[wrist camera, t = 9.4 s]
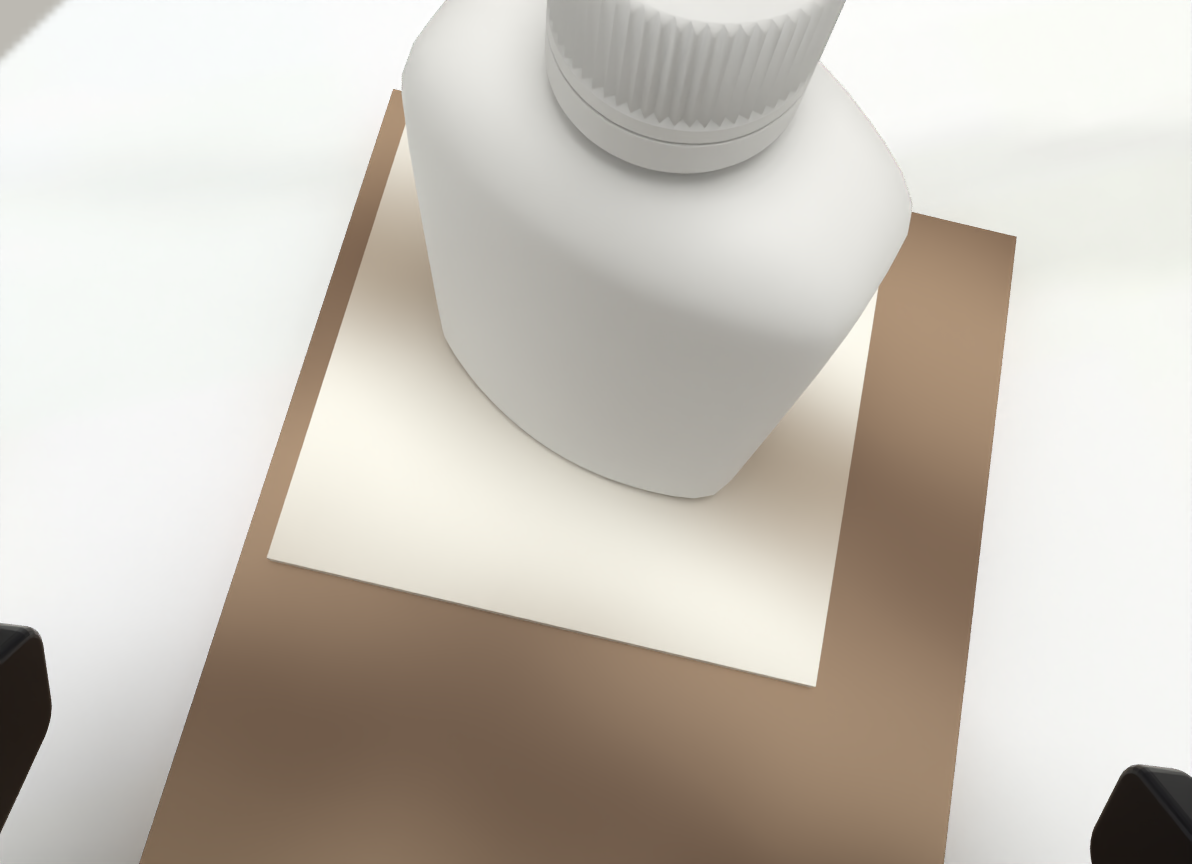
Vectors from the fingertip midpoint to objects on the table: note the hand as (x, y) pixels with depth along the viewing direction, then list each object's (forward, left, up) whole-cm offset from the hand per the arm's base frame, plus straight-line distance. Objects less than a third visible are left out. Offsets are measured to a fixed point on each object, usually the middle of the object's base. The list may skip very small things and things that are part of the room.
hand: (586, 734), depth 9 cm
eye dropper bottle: (+6, +1, -8) cm, 10 cm away
